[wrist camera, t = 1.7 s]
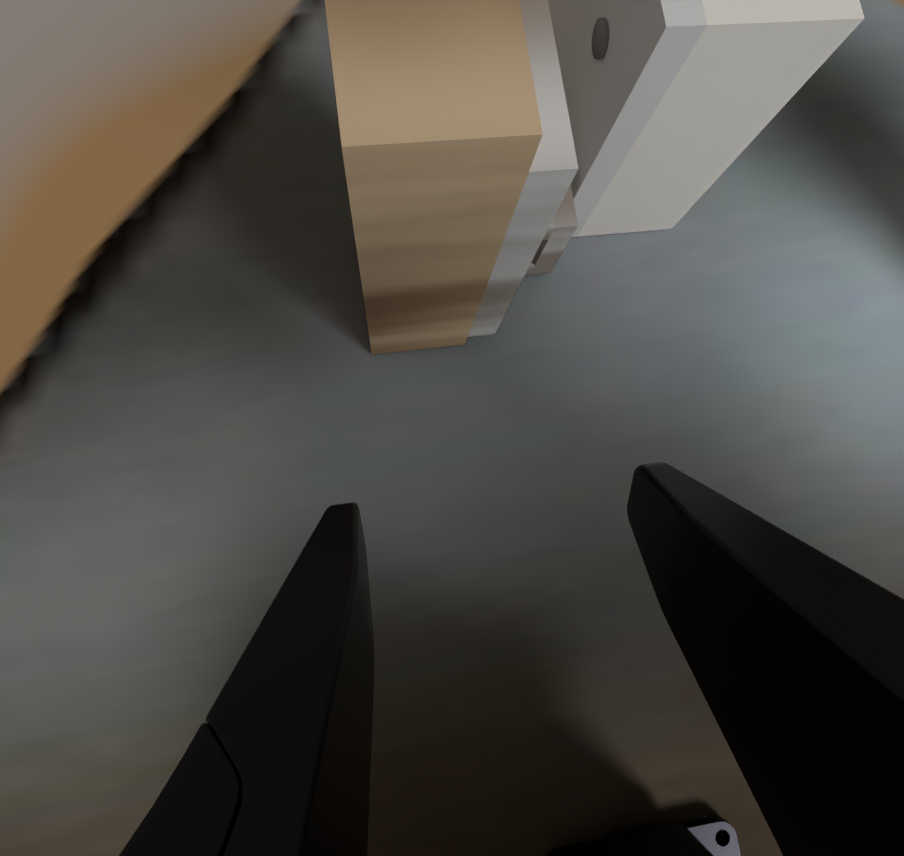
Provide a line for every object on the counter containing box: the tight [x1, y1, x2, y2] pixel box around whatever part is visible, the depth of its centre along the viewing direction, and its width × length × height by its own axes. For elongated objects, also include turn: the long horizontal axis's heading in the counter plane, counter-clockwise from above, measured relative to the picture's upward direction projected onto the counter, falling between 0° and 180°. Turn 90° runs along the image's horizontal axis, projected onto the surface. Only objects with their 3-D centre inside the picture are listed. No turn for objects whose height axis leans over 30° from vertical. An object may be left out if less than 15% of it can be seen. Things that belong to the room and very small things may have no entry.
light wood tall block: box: [325, 0, 579, 354], centre depth 17 cm, size 5×7×12 cm
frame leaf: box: [548, 0, 864, 237], centre depth 19 cm, size 9×9×10 cm
